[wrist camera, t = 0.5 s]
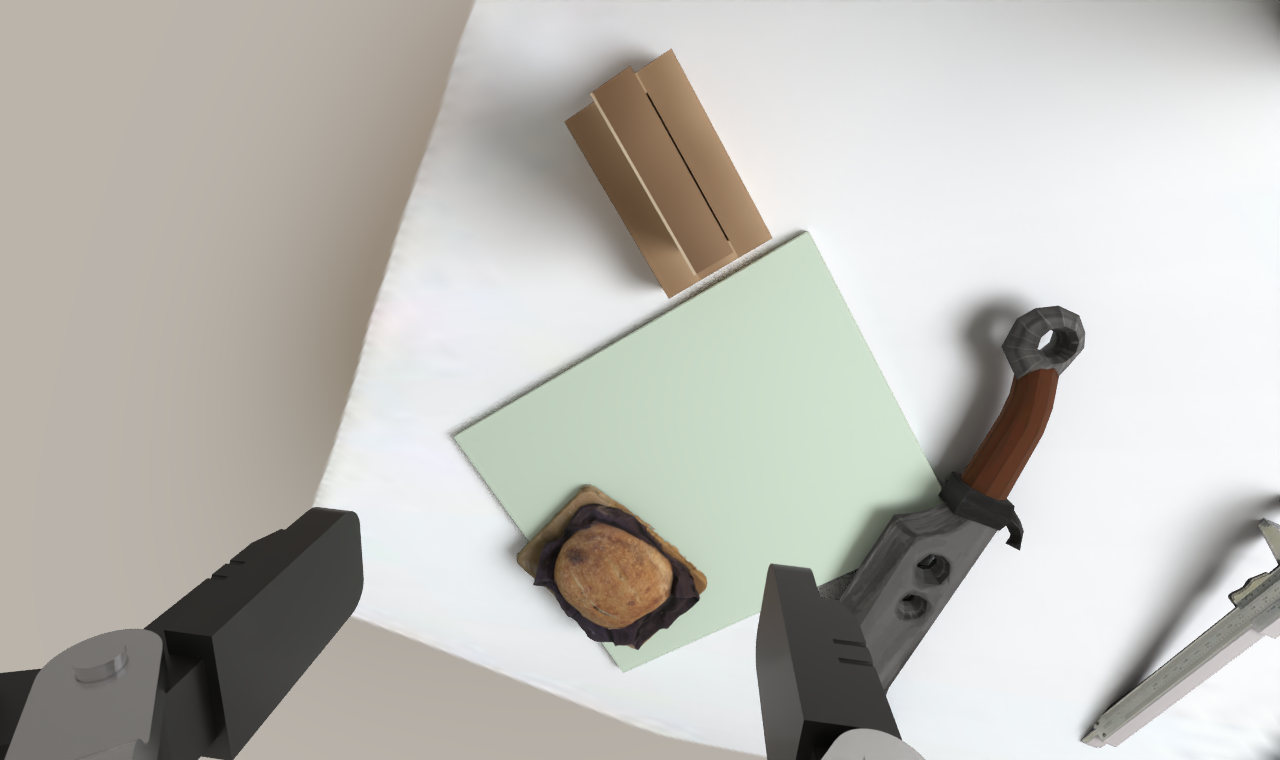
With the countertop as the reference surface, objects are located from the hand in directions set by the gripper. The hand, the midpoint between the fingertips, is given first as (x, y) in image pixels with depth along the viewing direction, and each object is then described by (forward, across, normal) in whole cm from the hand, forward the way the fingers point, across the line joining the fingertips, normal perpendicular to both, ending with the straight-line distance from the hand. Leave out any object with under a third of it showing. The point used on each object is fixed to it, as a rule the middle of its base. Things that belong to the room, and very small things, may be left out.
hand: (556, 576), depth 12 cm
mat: (+25, -4, +10) cm, 27 cm away
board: (+24, 0, -8) cm, 25 cm away
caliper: (+26, -35, +17) cm, 47 cm away
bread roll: (+24, +1, +16) cm, 29 cm away
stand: (+25, 0, -8) cm, 26 cm away
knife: (+24, -19, +12) cm, 33 cm away
